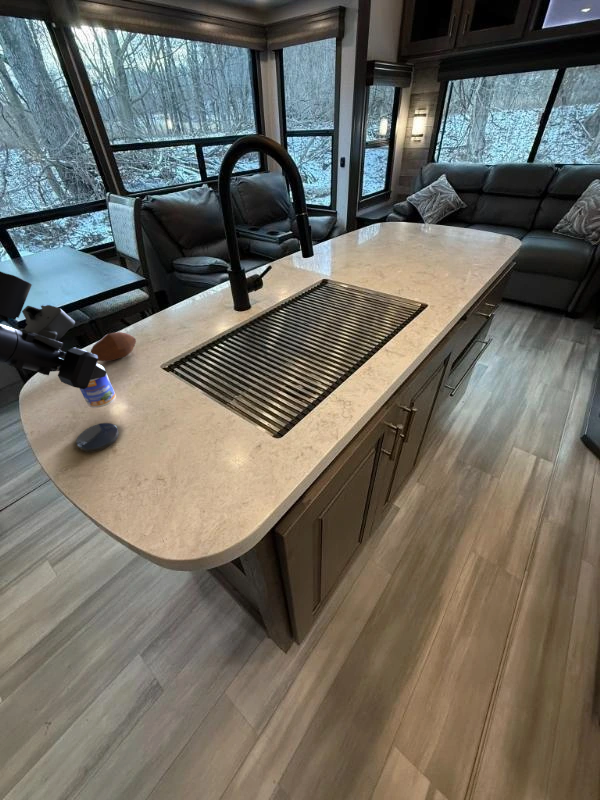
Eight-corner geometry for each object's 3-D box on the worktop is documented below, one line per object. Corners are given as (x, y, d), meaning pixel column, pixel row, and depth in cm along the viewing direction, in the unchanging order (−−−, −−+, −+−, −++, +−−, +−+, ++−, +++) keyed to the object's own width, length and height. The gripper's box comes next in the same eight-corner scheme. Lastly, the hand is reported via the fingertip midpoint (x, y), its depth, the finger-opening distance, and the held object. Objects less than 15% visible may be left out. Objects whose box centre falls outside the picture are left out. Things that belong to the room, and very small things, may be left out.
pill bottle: (93, 412, 66) (72, 370, 60) (83, 400, 69) (63, 360, 63) (120, 400, 69) (103, 359, 63) (110, 389, 72) (92, 350, 66)
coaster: (98, 456, 59) (97, 453, 58) (69, 446, 61) (67, 443, 60) (127, 430, 64) (125, 427, 64) (98, 422, 66) (97, 419, 65)
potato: (89, 362, 84) (78, 339, 80) (131, 344, 91) (123, 323, 87) (100, 370, 81) (90, 347, 77) (143, 351, 88) (135, 329, 84)
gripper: (61, 307, 49) (143, 342, 63) (-8, 288, 55) (80, 323, 70) (33, 378, 48) (122, 398, 62) (-33, 350, 55) (61, 373, 69)
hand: (96, 370), depth 66 cm, fingers closed on pill bottle, 5 cm apart
